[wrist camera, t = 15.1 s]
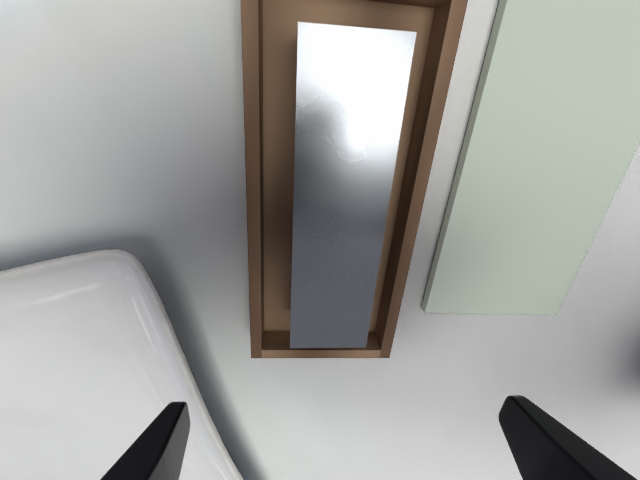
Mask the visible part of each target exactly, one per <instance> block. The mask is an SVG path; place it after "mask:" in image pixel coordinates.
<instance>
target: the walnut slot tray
mask: <svg viewBox="0 0 640 480" xmlns="http://www.w3.org/2000/svg"><path fill="white" fill-rule="evenodd" d="M467 2H468V0H241V24H242V59H243V93H244V128H245V162H246V197H247V231H248V266H249V300H250V335H251V358H389V356H390V352H391V347H392V343H393V338H394V334H395V329H396V324H397V320H398V315H399V311H400V306H401V302H402V297H403V293H404V288H405V284H406V279H407V274H408V270H409V265H410V261H411V256H412V252H413V247H414V243H415V238H416V234H417V229H418V225H419V220H420V215H421V211H422V206H423V202H424V197H425V193H426V188H427V184H428V179H429V175H430V170H431V165H432V161H433V156H434V152H435V147H436V143H437V138H438V134H439V129H440V125H441V120H442V116H443V111H444V106H445V102H446V97H447V93H448V88H449V84H450V79H451V75H452V70H453V66H454V61H455V56H456V52H457V47H458V43H459V38H460V34H461V29H462V25H463V20H464V16H465V11H466V7H467ZM298 22H306V23H318V24H329V25H340V26H352V27H363V28H375V29H386V30H397V31H409V32H417V33H416V39H415V45H414V52H413V58H412V64H411V70H410V76H409V83H408V89H407V95H406V101H405V108H404V114H403V120H402V126H401V133H400V139H399V145H398V151H397V157H396V164H395V170H394V176H393V182H392V189H391V195H390V201H389V207H388V214H387V220H386V226H385V232H384V238H383V245H382V251H381V257H380V263H379V270H378V276H377V282H376V288H375V295H374V301H373V307H372V313H371V320H370V326H369V332H368V338H367V344H366V348H290V318H291V278H292V238H293V198H294V157H295V117H296V77H297V37H298Z"/></svg>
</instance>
